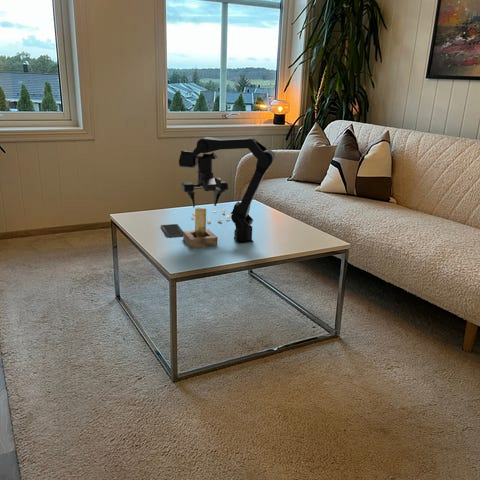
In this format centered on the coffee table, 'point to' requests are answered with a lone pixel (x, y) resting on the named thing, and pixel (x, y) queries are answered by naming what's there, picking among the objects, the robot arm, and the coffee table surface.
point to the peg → (200, 222)
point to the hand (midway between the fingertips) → (204, 206)
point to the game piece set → (214, 212)
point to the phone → (172, 230)
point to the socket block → (200, 239)
